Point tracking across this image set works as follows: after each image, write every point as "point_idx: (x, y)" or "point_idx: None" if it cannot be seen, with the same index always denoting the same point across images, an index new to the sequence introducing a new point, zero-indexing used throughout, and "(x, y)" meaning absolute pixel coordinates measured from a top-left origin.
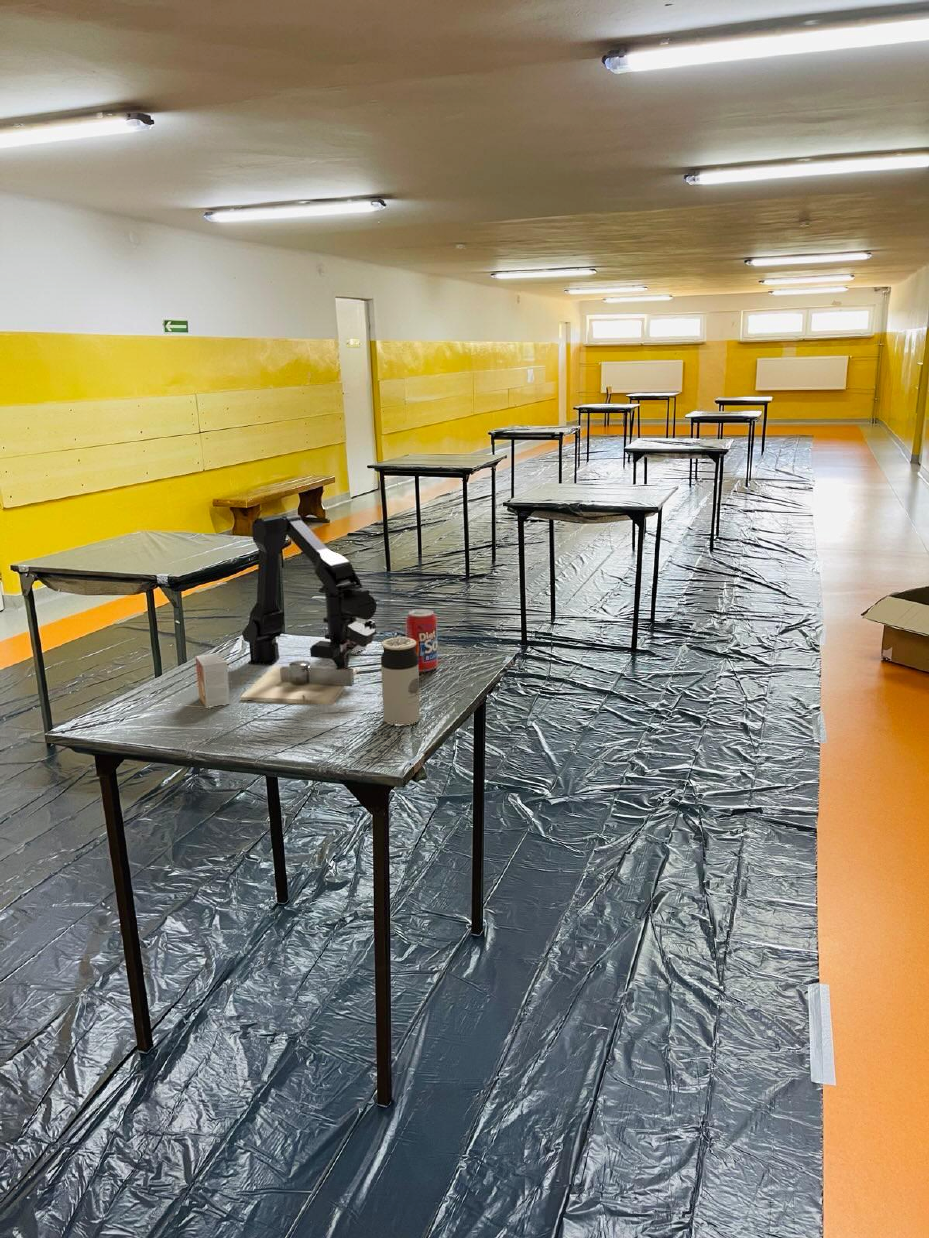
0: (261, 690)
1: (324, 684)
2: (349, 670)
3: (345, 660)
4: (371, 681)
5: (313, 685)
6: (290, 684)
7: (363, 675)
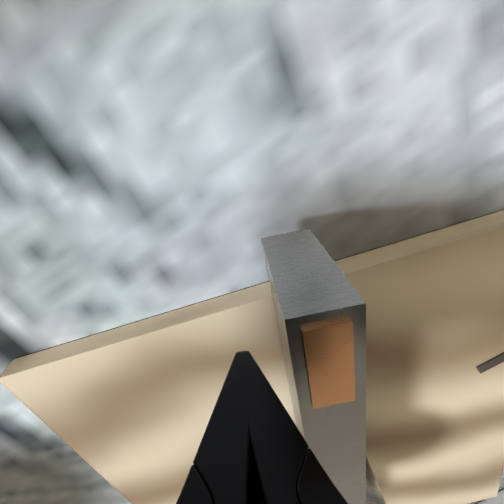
0: (433, 489)
1: None
2: (362, 318)
3: (297, 485)
4: (67, 203)
5: None
6: None
7: (21, 307)
